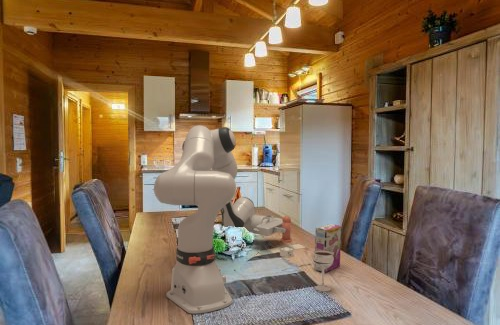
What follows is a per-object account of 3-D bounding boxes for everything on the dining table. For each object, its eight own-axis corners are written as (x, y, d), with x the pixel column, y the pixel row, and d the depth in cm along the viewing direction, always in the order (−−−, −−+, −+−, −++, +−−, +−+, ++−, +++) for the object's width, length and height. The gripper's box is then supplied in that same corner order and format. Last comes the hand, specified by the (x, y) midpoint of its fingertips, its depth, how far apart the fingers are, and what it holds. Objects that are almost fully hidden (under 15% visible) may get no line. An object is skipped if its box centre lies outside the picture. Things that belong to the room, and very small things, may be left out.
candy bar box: (325, 274, 124) (326, 230, 123) (313, 270, 127) (314, 227, 126) (341, 266, 131) (341, 225, 131) (330, 263, 135) (330, 223, 134)
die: (293, 258, 141) (293, 249, 141) (287, 260, 138) (287, 251, 138) (286, 256, 144) (286, 246, 144) (279, 258, 141) (279, 248, 141)
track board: (309, 250, 152) (309, 248, 151) (251, 261, 137) (251, 258, 137) (295, 244, 160) (295, 242, 160) (240, 254, 146) (240, 252, 146)
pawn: (293, 241, 151) (294, 216, 150) (285, 243, 148) (285, 217, 148) (287, 239, 155) (287, 214, 154) (278, 240, 152) (279, 215, 152)
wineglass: (334, 293, 107) (334, 256, 107) (312, 291, 108) (313, 255, 108) (332, 284, 114) (333, 250, 113) (312, 283, 115) (313, 248, 115)
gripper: (250, 222, 149) (277, 227, 142) (272, 215, 167) (297, 218, 159) (250, 236, 150) (277, 241, 142) (272, 227, 167) (297, 231, 159)
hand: (288, 229), depth 151 cm, fingers closed on pawn, 4 cm apart
